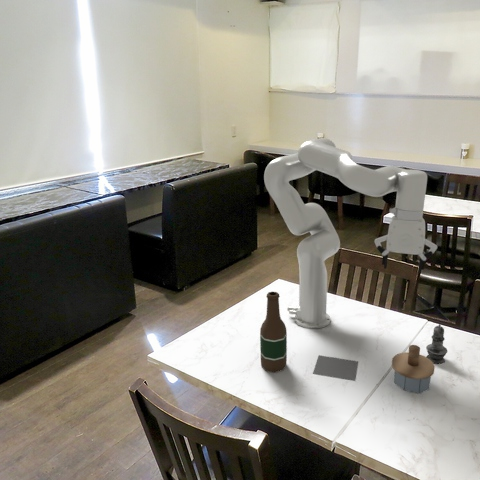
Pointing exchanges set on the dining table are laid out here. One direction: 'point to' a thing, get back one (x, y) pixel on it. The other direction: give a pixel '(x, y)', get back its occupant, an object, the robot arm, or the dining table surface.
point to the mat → (336, 367)
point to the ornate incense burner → (437, 346)
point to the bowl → (412, 383)
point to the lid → (413, 364)
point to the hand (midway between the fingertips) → (402, 269)
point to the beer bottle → (273, 337)
